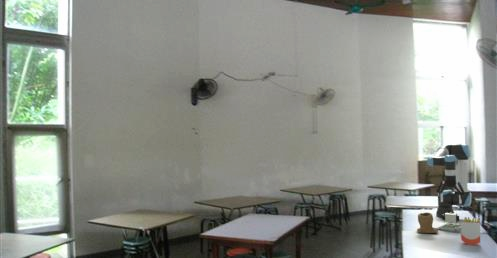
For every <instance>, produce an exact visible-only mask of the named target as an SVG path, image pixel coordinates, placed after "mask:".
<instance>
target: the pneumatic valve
mask: <svg viewBox="0 0 497 258" xmlns="http://www.w3.org/2000/svg"><path fill="white" fill-rule="evenodd" d="M441 218H442V221H443V222H444V223H446V224H447V223H448V224H447V227H448V228H455V225H454V224H458V222H460V215H458V213H455V214H452V213H451V212H450V213H444V215H443V214H442V217H441Z"/></svg>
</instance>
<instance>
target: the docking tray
mask: <svg viewBox="0 0 497 258" xmlns="http://www.w3.org/2000/svg"><path fill="white" fill-rule="evenodd" d="M448 223H449V222H446V223H444V224H443V225H440V226H438V227H437V228H438V231H442V232H443V231H444V232H451V233H457V234H461V224H458V223H453V224H454V225H455V228H448V227H447V224H448Z"/></svg>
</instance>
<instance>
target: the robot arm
mask: <svg viewBox="0 0 497 258" xmlns="http://www.w3.org/2000/svg"><path fill="white" fill-rule="evenodd" d="M470 149H471V148H470V146H469V144H467V143H446V144H443V145H441V146H439V147H438V148H437V149H436V153H434V155H433V156H428V157H427V159H426V160H427V161H426V163H427V165H428V166H430V167H444V180H441V181H440V183H439V186H438V188H437V190H436V193H437V204H438V205H437V210H436V213H435V216H436V217H438V218H442V214H443V215H444V213H450V212H451V213H452V214H456V213H455V211H454V208H453V206H457V207H458V206H460V207H469V206H471V202H472V196H473V195H472V193H471V192H470V190H469V189H468V169H467V168H468V167H467V166H468V164H467V163H468V160H469V158H471V150H470ZM444 184H445V185H444ZM443 185H444V186H443ZM442 187H443V188H442ZM447 188H454V191H453V190H452V189H447Z"/></svg>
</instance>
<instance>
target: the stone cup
mask: <svg viewBox="0 0 497 258" xmlns="http://www.w3.org/2000/svg"><path fill="white" fill-rule="evenodd" d="M417 221H418V224H419V227H418V228H417V229H416V231H417V232H418V233H420V234H421V233H423V234H438V232H439V230H438V228H439V227H433V223H434V216H433V213H431V212H428V211H427V212H420V213H418V215H417Z"/></svg>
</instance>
